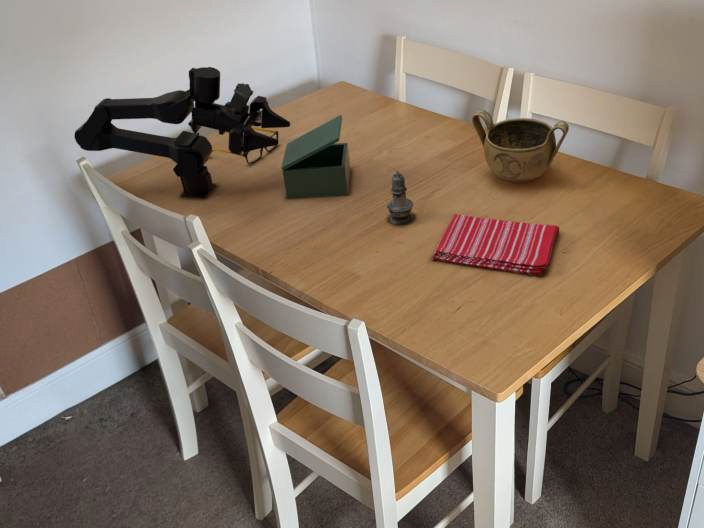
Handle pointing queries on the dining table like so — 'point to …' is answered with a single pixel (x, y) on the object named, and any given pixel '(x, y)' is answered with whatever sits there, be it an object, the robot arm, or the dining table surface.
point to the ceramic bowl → (518, 146)
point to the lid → (312, 142)
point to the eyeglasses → (260, 149)
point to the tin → (320, 174)
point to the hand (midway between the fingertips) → (284, 133)
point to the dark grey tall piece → (399, 201)
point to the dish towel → (497, 244)
